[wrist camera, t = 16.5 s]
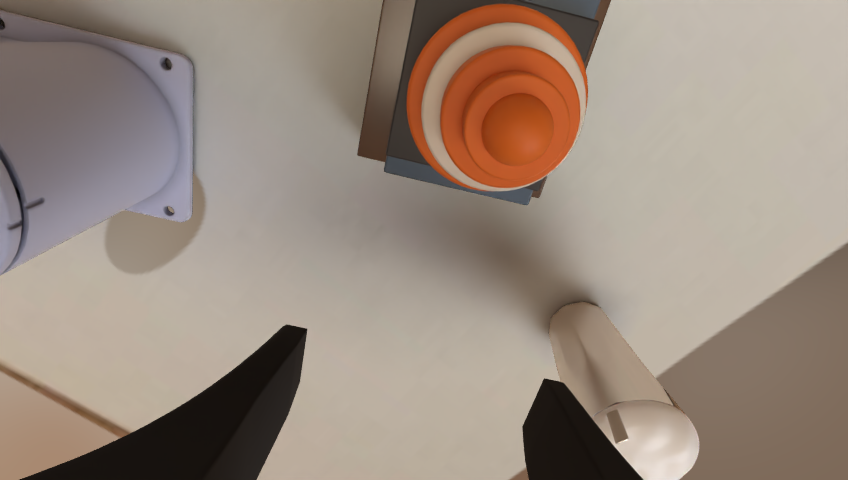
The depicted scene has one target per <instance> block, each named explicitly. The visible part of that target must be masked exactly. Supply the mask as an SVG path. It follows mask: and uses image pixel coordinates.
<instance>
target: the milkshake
mask: <svg viewBox="0 0 848 480" xmlns="http://www.w3.org/2000/svg"><path fill="white" fill-rule="evenodd" d="M548 333H549V338H550V342H551V346H552V350H553V354H554V358H555V363H556V367H557V371H558V375H559V379H560V382H563V383H564V384H565V385H566V386H567V387H568V388H569V390H570V391H571V392H572V393H573V395H574V396H575V397H576V398H577V400H578V401H579V402H580V404H581V405H582V406H583V407H584V409H585V410H586V411H587V413H588V414H589V415H590V416H591V418H592V419H593V420H594V422H595V423H596V424H597V425H598V427H599V428H600V429H601V430H602V432H603V433H604V434H605V435H606V437H607V438H608V439H609V440H610V442H611V443H612V444H613V445H614V446H615V448H616V449H617V450H618V451H619V452H620V454H621V455H622V456H623V457H624V458H625V459H626V460H627V462H628V463H629V464H630V465H631V466H632V467H633V468H634V470H635V471H636V472H637V473H638V474H639V475H640V476H641V477H642V478H643V479H644V480H679V479H680V478H681V477H682V476H683V475H685V474H686V473H687V472H688V471H689V470H690V469H691V468H692V467H693V465H694V463H695V461H696V459H697V456H698V452H699V438H698V435H697V432H696V430H695V428H694V426H693V424H692V422H691V421H690V419H689V418H688V417H687V416H686V415H685V414H684V412H683V411H682V410H681V409H680V407H679V406H678V405H677V404H676V402H675V401H674V400H673V399H672V398H671V396H670V395H669V394H668V393H667V392H666V390H665V389H664V388H663V387H662V385H661V384H660V383H659V382H658V381H657V379H656V378H655V377H654V376H653V375H652V373H651V372H650V371H649V370H648V369H647V367H646V366H645V365H644V364H643V362H642V361H641V360H640V359H639V357H638V356H637V355H636V353H635V352H634V351H633V349H632V348H631V347H630V346H629V344H628V343H627V342H626V340H625V339H624V338H623V336H622V335H621V334H620V332H619V331H618V330H617V328H616V327H615V326H614V324H613V323H612V322H611V320H610V319H609V318H608V317H607V315H606V314H605V313H604V311H603V310H602V309H601V308H600V307H598V306H595V305H592V304H589V303H587V302H584V301H582V302H578V303H573V304H568V305H564V306H563V307H562V308H561V309H560V310H559V311H558V312H556V313H555V314H554V315H553V316H552V317H551V321H550V327H549V332H548Z"/></svg>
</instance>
